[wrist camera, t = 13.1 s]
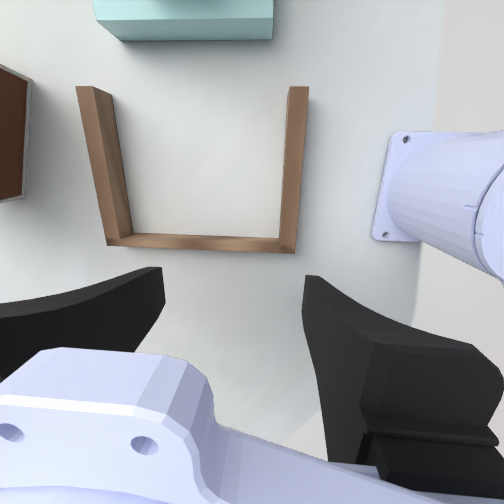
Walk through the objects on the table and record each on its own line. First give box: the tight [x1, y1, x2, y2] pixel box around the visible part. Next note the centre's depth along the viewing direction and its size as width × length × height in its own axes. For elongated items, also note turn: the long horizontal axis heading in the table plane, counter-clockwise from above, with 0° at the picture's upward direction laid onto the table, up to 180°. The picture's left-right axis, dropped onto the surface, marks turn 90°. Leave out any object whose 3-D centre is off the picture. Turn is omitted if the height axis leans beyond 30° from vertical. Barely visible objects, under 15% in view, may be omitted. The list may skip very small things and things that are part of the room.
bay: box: [75, 86, 309, 254], centre depth 18 cm, size 15×11×2 cm
